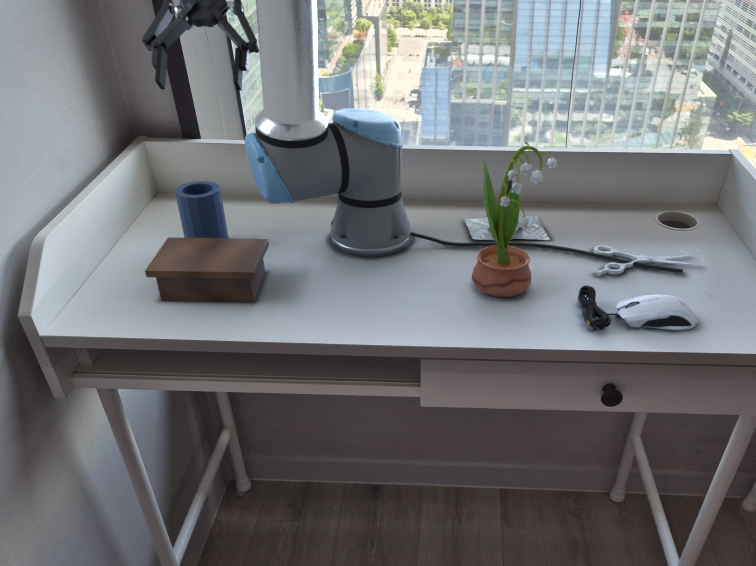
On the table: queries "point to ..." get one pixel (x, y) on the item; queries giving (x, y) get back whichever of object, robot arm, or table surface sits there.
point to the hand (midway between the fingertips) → (198, 86)
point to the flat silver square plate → (534, 231)
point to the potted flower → (506, 233)
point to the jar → (201, 210)
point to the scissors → (634, 257)
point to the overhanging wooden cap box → (209, 269)
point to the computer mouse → (639, 311)
